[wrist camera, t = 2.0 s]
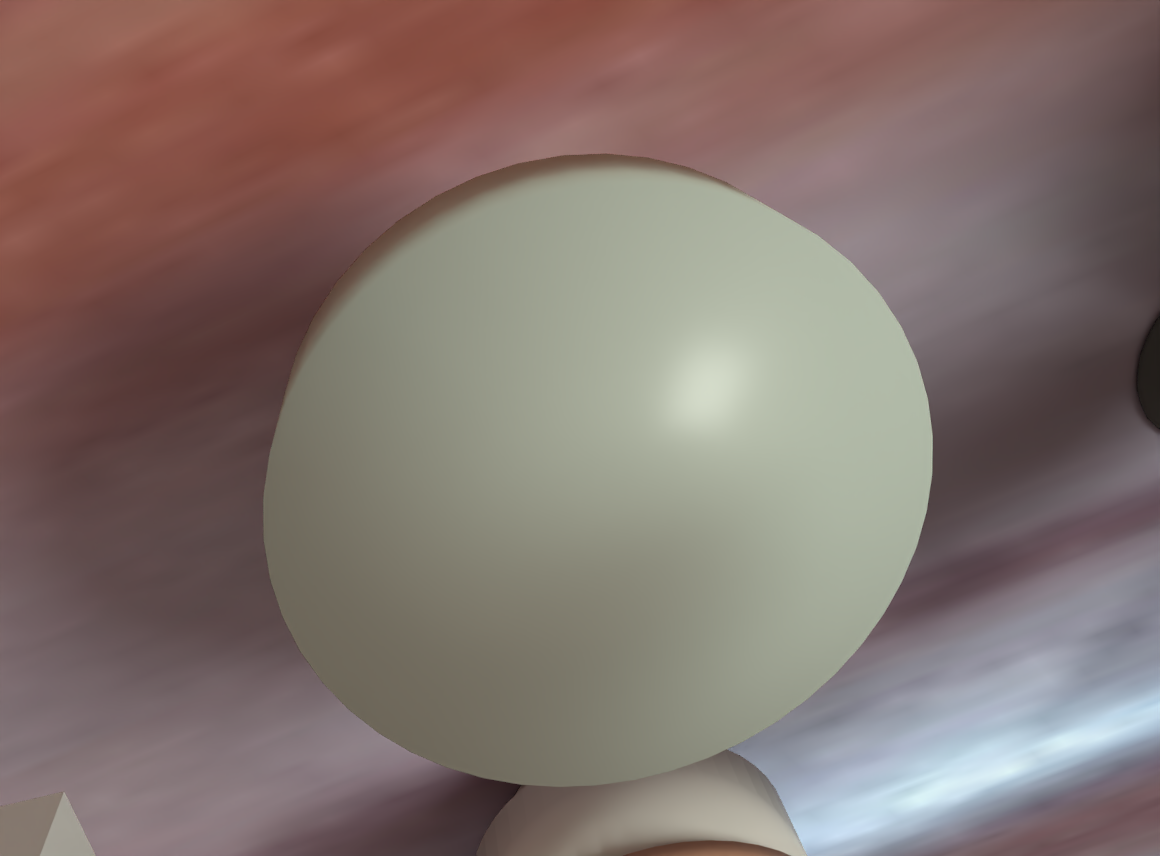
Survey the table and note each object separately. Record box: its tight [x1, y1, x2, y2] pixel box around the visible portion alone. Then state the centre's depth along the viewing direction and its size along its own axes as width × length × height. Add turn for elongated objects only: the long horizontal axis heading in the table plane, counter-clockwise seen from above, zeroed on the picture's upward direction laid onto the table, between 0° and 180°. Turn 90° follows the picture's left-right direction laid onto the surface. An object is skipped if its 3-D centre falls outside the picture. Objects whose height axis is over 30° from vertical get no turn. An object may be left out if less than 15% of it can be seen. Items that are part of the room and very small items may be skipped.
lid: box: [263, 154, 933, 787], centre depth 17 cm, size 11×11×2 cm
